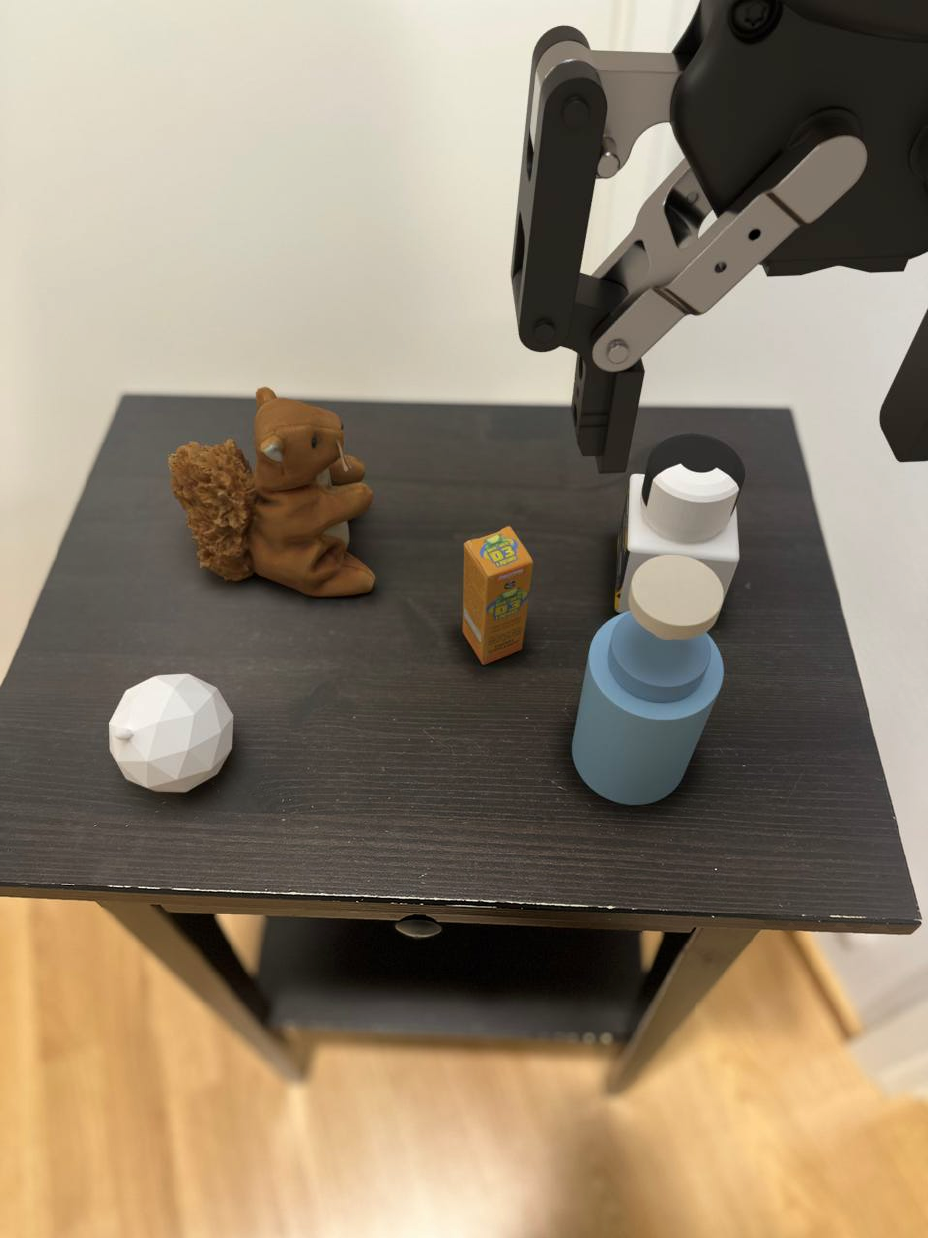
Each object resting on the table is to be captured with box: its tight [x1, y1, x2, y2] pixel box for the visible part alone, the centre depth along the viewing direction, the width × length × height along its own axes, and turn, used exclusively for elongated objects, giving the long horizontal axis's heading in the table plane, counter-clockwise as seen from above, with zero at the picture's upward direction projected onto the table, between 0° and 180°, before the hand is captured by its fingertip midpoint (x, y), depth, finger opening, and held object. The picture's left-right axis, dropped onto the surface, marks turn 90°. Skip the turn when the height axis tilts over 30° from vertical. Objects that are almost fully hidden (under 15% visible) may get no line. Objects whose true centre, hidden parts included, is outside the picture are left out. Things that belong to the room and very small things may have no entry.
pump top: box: [628, 555, 725, 640], centre depth 43 cm, size 4×4×3 cm
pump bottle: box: [571, 611, 725, 806], centre depth 50 cm, size 7×7×12 cm
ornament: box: [108, 673, 234, 793], centre depth 52 cm, size 7×7×8 cm
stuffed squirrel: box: [167, 386, 376, 598], centre depth 60 cm, size 10×14×13 cm
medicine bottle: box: [614, 433, 746, 614], centre depth 58 cm, size 7×7×12 cm
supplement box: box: [462, 525, 534, 666], centre depth 56 cm, size 3×4×10 cm
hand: (754, 448), depth 25 cm, fingers open, 8 cm apart
